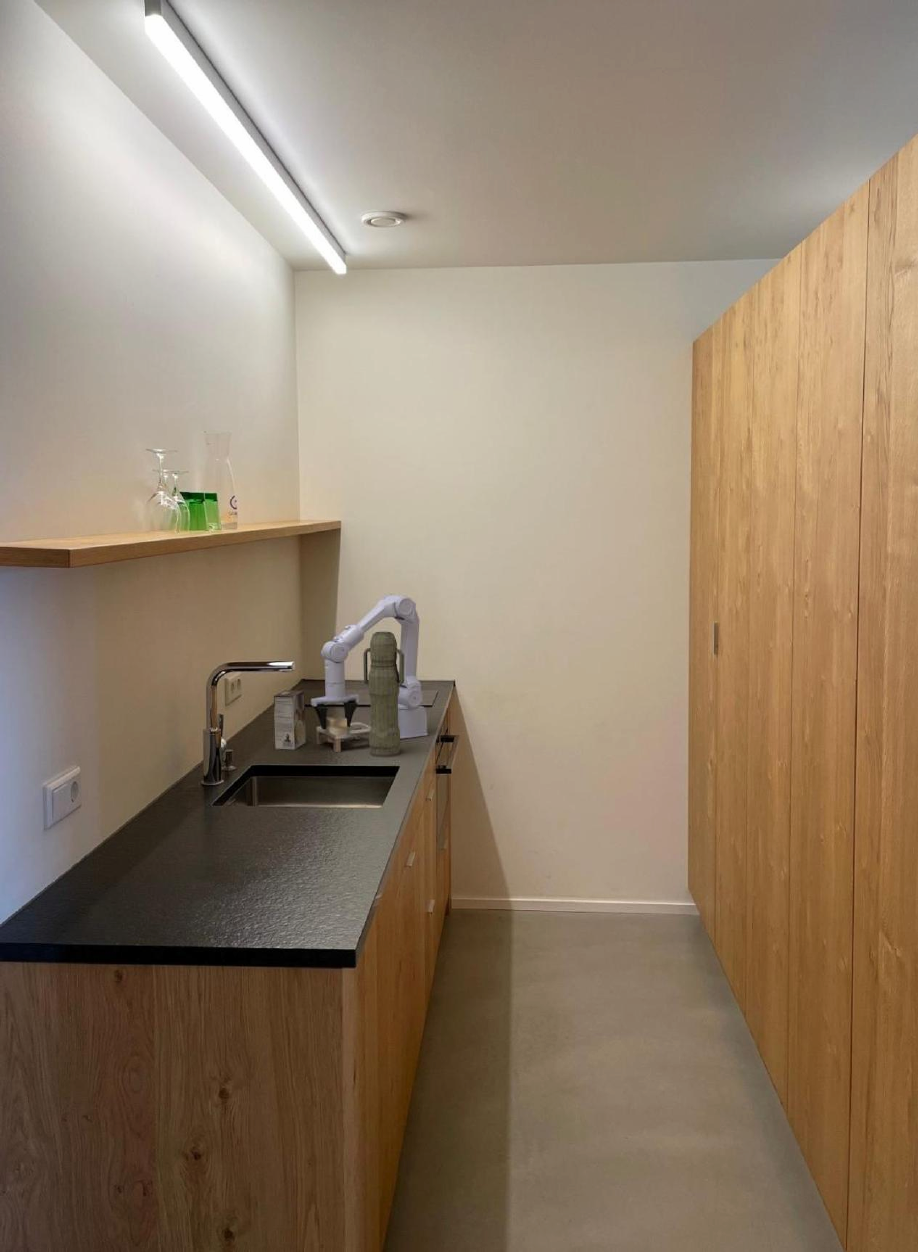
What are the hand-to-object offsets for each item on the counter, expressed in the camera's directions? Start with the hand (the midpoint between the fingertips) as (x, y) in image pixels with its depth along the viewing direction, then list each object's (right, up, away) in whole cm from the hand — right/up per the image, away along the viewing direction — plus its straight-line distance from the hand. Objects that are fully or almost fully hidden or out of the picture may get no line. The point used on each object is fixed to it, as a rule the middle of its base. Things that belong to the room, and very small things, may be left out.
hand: (335, 727), depth 285 cm
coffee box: (-14, -6, +2) cm, 15 cm away
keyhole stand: (+3, -5, +3) cm, 7 cm away
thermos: (+15, -7, -8) cm, 18 cm away
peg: (0, -4, 0) cm, 4 cm away
